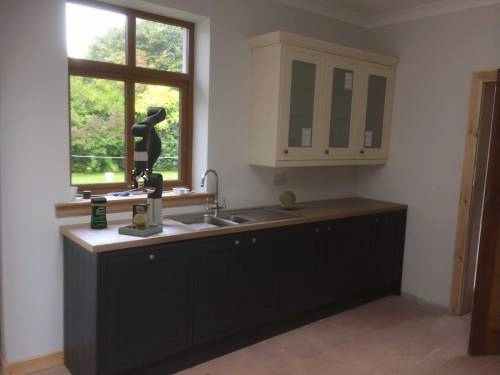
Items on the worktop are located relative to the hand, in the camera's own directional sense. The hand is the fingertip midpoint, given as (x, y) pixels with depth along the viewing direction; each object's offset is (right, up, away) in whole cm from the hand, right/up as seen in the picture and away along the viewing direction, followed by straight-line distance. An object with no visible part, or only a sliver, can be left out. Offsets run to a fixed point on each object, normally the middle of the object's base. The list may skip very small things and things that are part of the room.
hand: (140, 187), depth 250 cm
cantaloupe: (+95, -18, +109) cm, 146 cm away
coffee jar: (-29, -25, +14) cm, 41 cm away
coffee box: (-1, -26, +3) cm, 26 cm away
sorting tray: (-1, -26, +3) cm, 27 cm away
